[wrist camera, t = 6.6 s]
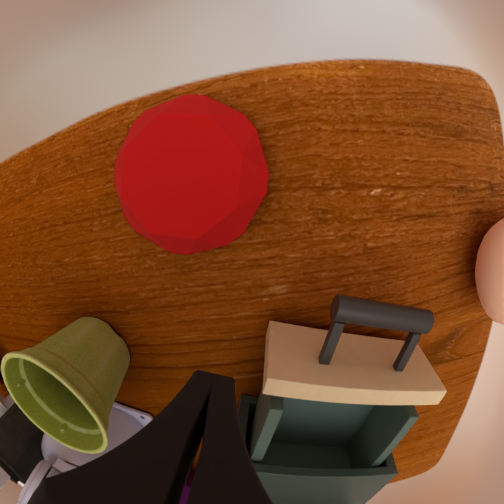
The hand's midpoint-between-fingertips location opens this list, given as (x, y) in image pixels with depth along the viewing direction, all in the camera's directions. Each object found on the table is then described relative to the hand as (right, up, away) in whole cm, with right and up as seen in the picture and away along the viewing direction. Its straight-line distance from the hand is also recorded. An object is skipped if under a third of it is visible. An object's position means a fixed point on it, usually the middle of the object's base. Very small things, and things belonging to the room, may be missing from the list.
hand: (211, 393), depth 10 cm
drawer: (+7, -4, +11) cm, 14 cm away
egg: (+20, +8, +3) cm, 21 cm away
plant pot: (-12, -3, +13) cm, 18 cm away
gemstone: (-2, +10, +8) cm, 13 cm away
